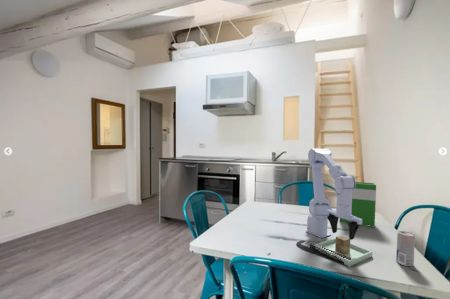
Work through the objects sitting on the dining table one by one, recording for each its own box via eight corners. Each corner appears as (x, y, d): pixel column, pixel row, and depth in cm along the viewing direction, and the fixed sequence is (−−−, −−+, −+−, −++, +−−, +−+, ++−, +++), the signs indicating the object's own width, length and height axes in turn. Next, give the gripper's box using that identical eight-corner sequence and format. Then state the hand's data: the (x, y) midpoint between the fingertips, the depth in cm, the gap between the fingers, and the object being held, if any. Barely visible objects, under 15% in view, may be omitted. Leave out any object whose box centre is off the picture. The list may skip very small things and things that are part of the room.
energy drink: (405, 260, 92) (407, 230, 91) (417, 267, 86) (418, 236, 86) (392, 260, 92) (394, 230, 91) (403, 267, 86) (405, 236, 86)
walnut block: (335, 250, 97) (335, 236, 97) (340, 248, 99) (341, 235, 99) (344, 254, 94) (344, 240, 94) (349, 252, 96) (350, 238, 96)
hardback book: (339, 221, 136) (341, 182, 135) (339, 218, 142) (340, 180, 142) (374, 227, 128) (376, 185, 127) (372, 223, 135) (374, 183, 134)
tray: (314, 249, 99) (314, 244, 99) (336, 241, 107) (336, 237, 107) (349, 267, 86) (349, 261, 86) (372, 256, 94) (372, 251, 94)
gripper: (367, 207, 92) (365, 240, 92) (334, 199, 104) (333, 228, 105) (357, 209, 88) (355, 243, 89) (324, 200, 101) (323, 230, 101)
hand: (342, 235), depth 96 cm, fingers open, 7 cm apart
